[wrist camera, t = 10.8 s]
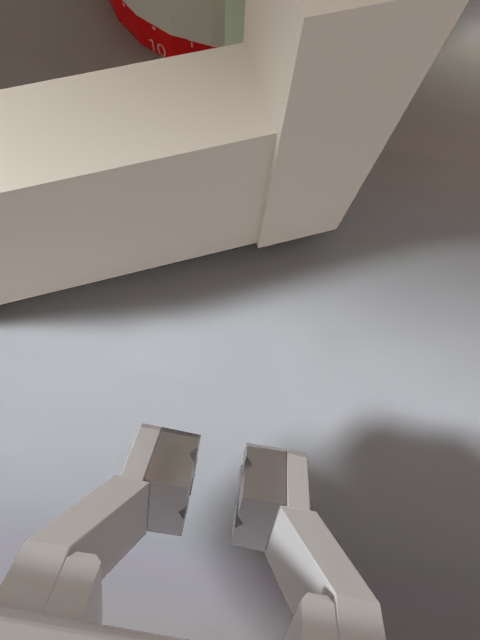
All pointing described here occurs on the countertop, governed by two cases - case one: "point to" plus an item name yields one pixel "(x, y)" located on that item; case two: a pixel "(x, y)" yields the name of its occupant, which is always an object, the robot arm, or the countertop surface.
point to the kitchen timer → (174, 24)
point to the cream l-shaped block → (207, 141)
